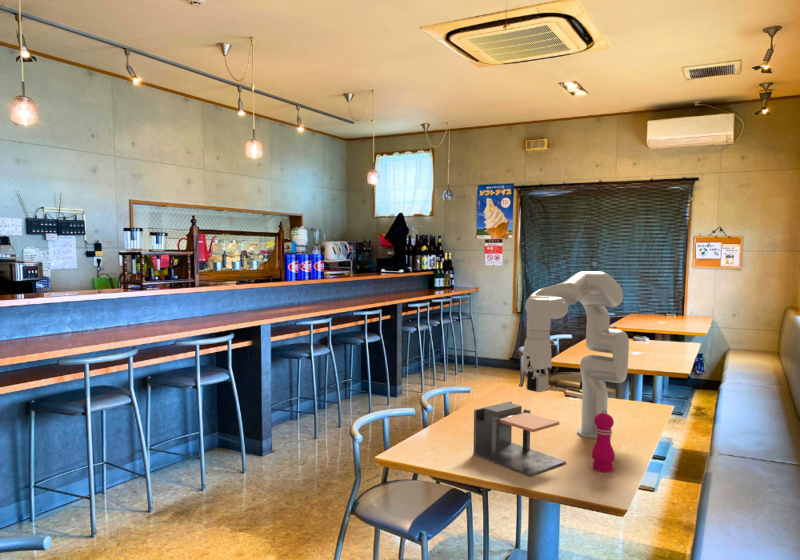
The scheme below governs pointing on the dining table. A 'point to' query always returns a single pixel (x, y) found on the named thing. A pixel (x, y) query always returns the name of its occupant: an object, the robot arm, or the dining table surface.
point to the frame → (508, 447)
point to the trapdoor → (517, 417)
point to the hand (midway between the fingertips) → (537, 388)
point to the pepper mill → (603, 443)
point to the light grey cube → (541, 382)
